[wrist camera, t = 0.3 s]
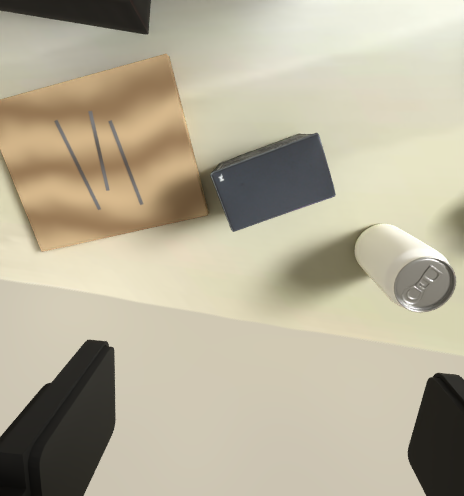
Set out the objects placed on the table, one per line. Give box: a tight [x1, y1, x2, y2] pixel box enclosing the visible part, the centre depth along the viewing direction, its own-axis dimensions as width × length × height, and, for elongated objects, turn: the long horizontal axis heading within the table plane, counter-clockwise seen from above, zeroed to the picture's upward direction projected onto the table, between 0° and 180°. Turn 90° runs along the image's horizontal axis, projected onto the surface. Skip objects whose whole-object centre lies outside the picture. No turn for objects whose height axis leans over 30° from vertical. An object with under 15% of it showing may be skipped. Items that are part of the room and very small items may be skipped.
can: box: [355, 224, 456, 312], centre depth 38 cm, size 6×6×12 cm
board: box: [0, 54, 209, 252], centre depth 42 cm, size 18×22×2 cm
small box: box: [210, 133, 336, 232], centre depth 37 cm, size 11×6×10 cm, turn 110°
